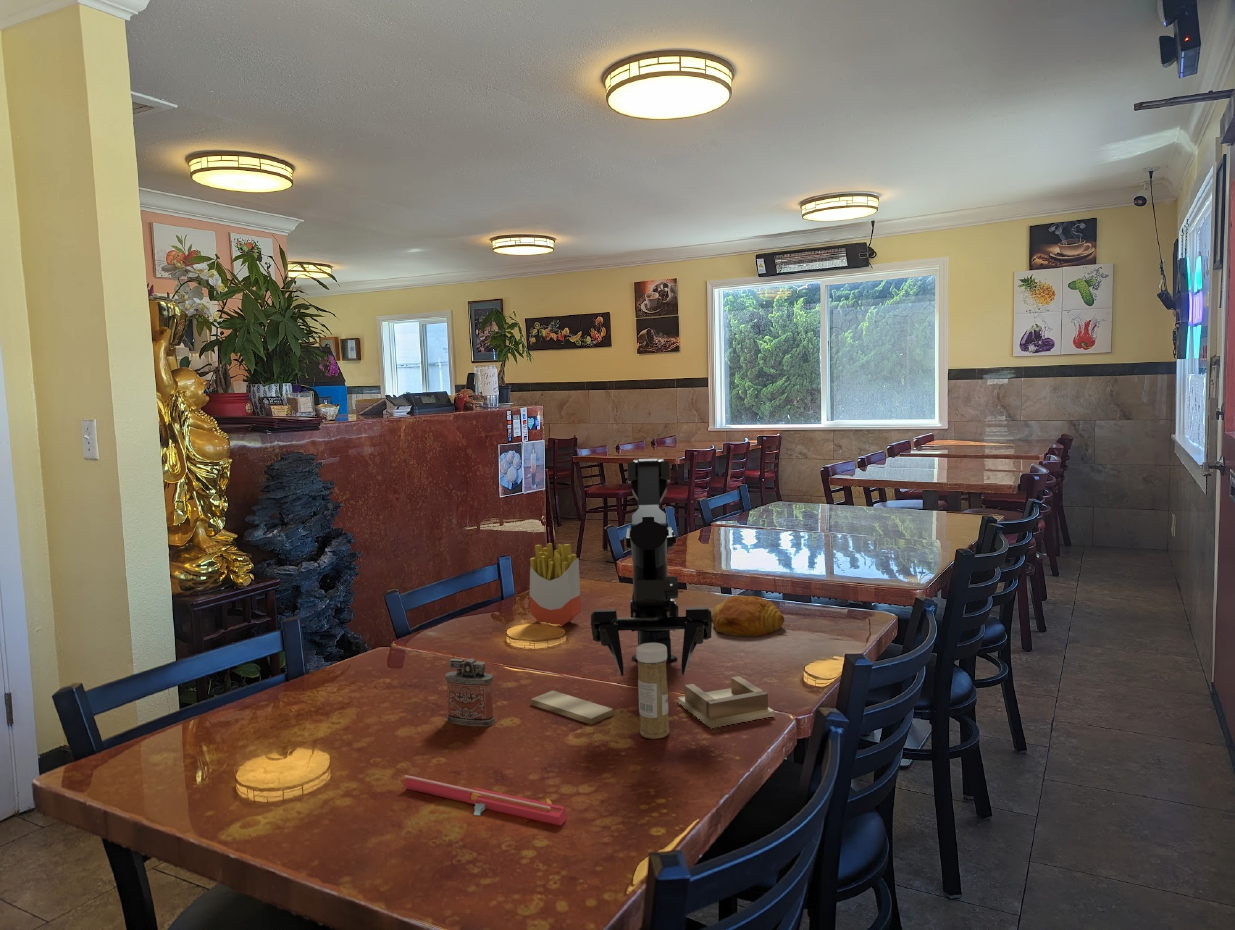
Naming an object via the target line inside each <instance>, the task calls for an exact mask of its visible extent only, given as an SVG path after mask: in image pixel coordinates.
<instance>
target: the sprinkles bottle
mask: <svg viewBox="0 0 1235 930" xmlns="http://www.w3.org/2000/svg"><path fill="white" fill-rule="evenodd" d="M635 652H636V653H635V655H637V660H638V661H637V660H636V661H637V671H638V672H637V673H638V674H637V675H638V679H637V685H638V687H637V688H638V712H639V722H640V725H639V726H640V727H639V733H640V736H641V737H643V738H646V739H652V740H657V739H663V738H665V737H667V736H669V734H670V725H669V698H668V693H669V692H668V681H667V675H668V674H667V662H666V659H667V647H666V646H665V645H664V644H661V643H644V644H641V645H639V646H638V645H637V646H636V650H635Z"/></svg>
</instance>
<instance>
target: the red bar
mask: <svg viewBox="0 0 1235 930" xmlns="http://www.w3.org/2000/svg"><path fill="white" fill-rule="evenodd" d="M404 778H405V781H404V787H405V789H406V790H409V791H415V792H419V793H422V794H423V793H424V794H428V795H430V796H431V795H433V796H436V797H440V798H443V799H444V798H445V799H449V800H454V801H458V802H463V803H467V804H472V805H475V806H473V808H474V812H473V815H474V816H477V817H480V816H481V814H482V812H484V811H485V810H490V811H495V812H500V813H505V814H508V815H513V816H517V817H521V818H526V819H530V820H534V821H538V822H539V821H540V822H543V823H548V824H552V825H557V826H562V825H563V824H564V823H565V822H566V820H567V818H568V816H567V812H566V809H565V806H564V805H563V806H562V805H559V804H558V805H557V804H553V803H552V800H550V799H549V798H546V799H545V800H546V802H544V801H543V802H542V801H539V800H534V799H530V798H526V797H519V796H516V795H510V794H508V793H506V794H505V793H501V792H497V791H492V790H487V789H483V788H479V787H473V788H467V787H463V786H459V785H455V784H449V783H445V782H441V781H435V780H431V779H427V778H423V777H418V776H413V775H407V774H405V775H404ZM553 809H554V810H553ZM555 810H560V811H555Z"/></svg>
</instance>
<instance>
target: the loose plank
mask: <svg viewBox="0 0 1235 930" xmlns="http://www.w3.org/2000/svg"><path fill="white" fill-rule="evenodd" d="M530 703H531V704H530V705H531V706H534V707H538V708H540V709H542V710H545V711H549V712H552V713H555V714H559V715H561V716H565V717H566V718H571V719H573V720H576V721H579V722H583V723H584V724H585V723H586V724H588V725H594V724H596V723H599V722H600V721H603V720H605V719H608V718H610V717H612V716H614V709H613V708H611V707H609V706H604V705H601V704H598V703H594V702H591V701H589V700H586V699H582V698H579V697H575V696H573V695H569V694H566V693H562V692H559V691H556V690H550V691H548V692H546V693H543V694H541V695H537V696H535V697H533V698H531V699H530Z"/></svg>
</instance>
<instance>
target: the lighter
mask: <svg viewBox="0 0 1235 930" xmlns="http://www.w3.org/2000/svg"><path fill="white" fill-rule="evenodd" d="M448 668H449V669H456V671H455V670H454V671H450V672H446V673H445V675H444V676H445V681H446V691H447V693H446V695H447V711H448V712H447V713H448V714H447V715H446V717H447V722H448V723H452V724H456V725H461V726H469V727H472V726H473V727H488V726H489V727H490V726H493V725H494V724H495V723H496V720H495V718H496V717H495V715H494V701H493V700H494V699H493V696H494V695H493V681H494V679H493V678H494V676H493V674H491V673H485V670H486V663H485V662H484V661H477V660H476V659H475V658H473V657H471V658H469V659H467V660H465V659H462V658H461V659H460V658H451V659H449V661H448Z"/></svg>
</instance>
